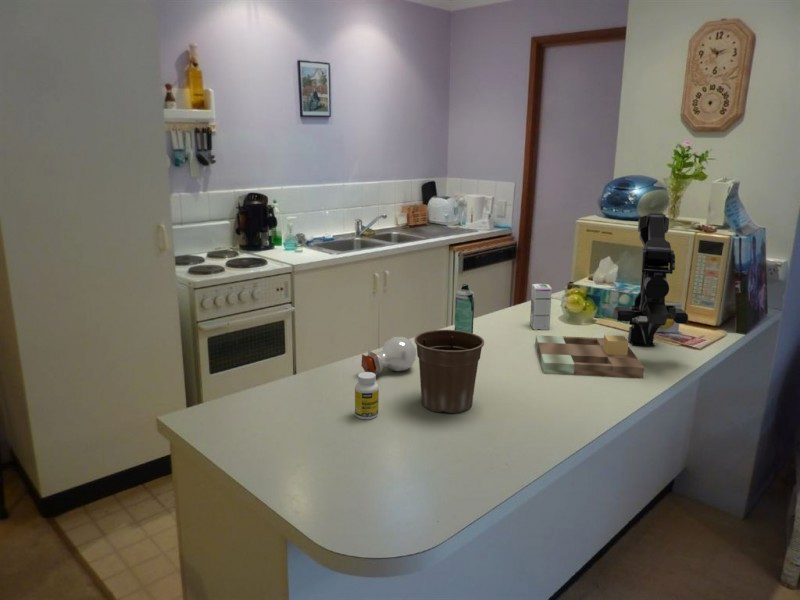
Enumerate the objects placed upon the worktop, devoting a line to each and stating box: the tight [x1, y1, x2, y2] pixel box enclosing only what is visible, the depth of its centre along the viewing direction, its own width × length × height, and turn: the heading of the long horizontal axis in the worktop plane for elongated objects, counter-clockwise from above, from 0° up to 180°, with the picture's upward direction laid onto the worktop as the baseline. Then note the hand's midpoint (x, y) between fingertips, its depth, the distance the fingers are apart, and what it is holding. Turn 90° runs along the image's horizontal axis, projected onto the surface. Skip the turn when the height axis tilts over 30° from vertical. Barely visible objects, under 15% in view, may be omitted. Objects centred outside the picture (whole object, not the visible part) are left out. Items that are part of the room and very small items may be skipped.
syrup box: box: [529, 283, 553, 331], centre depth 206 cm, size 6×6×14 cm
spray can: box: [453, 283, 475, 334], centre depth 183 cm, size 6×6×20 cm
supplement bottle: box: [354, 371, 380, 420], centre depth 141 cm, size 5×5×10 cm
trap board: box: [534, 334, 645, 379], centre depth 177 cm, size 26×24×3 cm
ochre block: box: [603, 334, 630, 355], centre depth 176 cm, size 6×6×4 cm
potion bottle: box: [361, 336, 417, 376], centre depth 167 cm, size 9×10×15 cm
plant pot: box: [413, 329, 485, 414], centre depth 146 cm, size 16×16×16 cm
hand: (646, 344), depth 175 cm, fingers closed
